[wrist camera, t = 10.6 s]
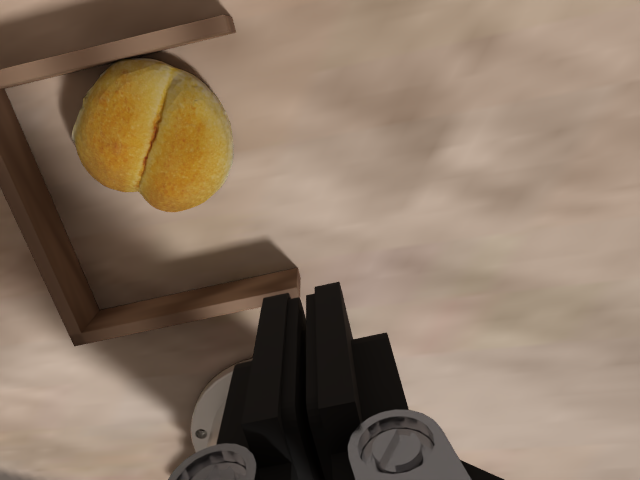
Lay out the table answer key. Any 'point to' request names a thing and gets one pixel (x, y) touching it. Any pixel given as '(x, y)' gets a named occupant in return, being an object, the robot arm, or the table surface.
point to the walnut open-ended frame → (50, 236)
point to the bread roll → (154, 134)
